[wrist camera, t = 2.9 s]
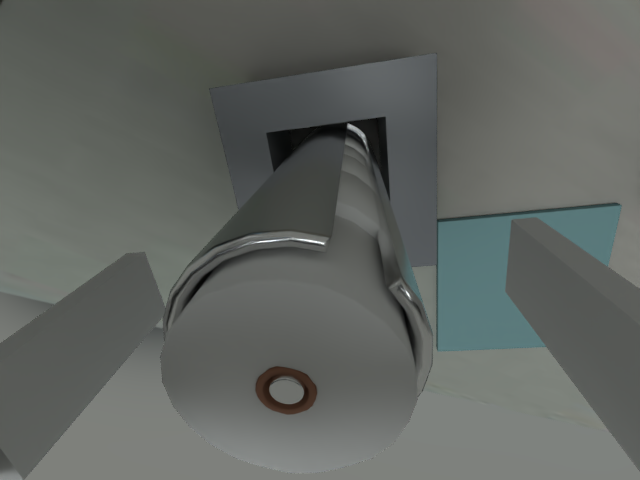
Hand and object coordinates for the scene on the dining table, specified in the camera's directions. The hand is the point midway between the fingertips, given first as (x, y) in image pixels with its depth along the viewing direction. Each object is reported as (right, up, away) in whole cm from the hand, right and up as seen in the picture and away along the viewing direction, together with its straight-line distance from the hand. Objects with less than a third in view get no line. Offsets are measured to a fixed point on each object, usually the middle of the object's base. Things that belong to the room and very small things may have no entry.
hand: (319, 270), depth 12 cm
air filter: (+1, +8, +18) cm, 20 cm away
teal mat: (+19, -3, +21) cm, 28 cm away
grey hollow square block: (+1, +8, +17) cm, 19 cm away
